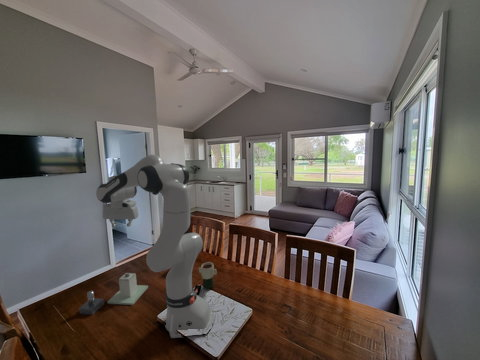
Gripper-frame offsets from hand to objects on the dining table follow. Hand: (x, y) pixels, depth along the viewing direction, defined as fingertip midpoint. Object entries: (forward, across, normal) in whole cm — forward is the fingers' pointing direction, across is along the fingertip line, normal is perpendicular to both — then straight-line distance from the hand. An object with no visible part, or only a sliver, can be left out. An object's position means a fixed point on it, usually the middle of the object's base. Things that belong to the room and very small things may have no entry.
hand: (121, 226), depth 117 cm
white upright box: (+34, +9, -11) cm, 37 cm away
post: (+35, -3, -22) cm, 41 cm away
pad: (+35, +9, -11) cm, 38 cm away
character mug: (+35, +51, -1) cm, 62 cm away
